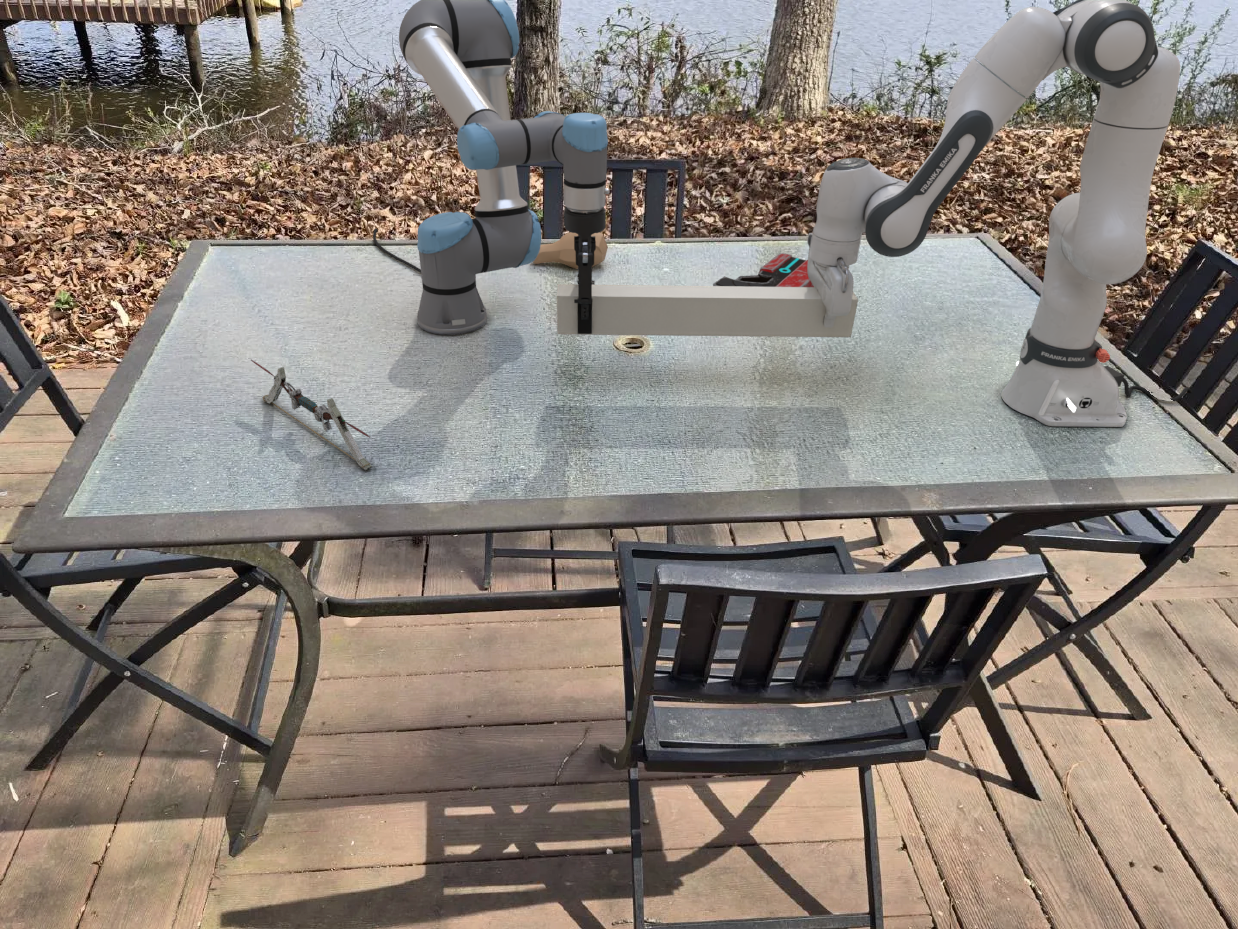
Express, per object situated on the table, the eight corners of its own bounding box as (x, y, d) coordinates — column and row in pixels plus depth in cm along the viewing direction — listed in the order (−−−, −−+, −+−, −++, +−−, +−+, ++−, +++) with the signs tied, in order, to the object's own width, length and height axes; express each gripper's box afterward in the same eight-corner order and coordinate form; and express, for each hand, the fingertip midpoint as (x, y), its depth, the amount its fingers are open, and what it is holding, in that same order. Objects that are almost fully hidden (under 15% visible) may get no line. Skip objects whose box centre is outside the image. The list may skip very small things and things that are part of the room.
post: (557, 334, 167) (556, 295, 163) (558, 321, 172) (557, 283, 168) (851, 337, 170) (858, 299, 165) (844, 324, 174) (850, 287, 170)
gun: (708, 284, 207) (784, 305, 199) (760, 245, 229) (831, 262, 221) (706, 302, 209) (781, 323, 201) (758, 261, 231) (828, 278, 223)
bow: (382, 473, 146) (374, 421, 141) (372, 477, 145) (364, 425, 140) (264, 393, 168) (253, 345, 162) (255, 396, 167) (243, 348, 161)
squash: (609, 272, 224) (605, 241, 218) (532, 279, 226) (525, 248, 219) (610, 251, 232) (605, 220, 226) (535, 258, 233) (529, 227, 227)
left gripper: (607, 224, 149) (605, 347, 162) (604, 191, 164) (602, 305, 177) (563, 224, 149) (564, 347, 162) (564, 190, 164) (565, 305, 177)
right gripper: (866, 270, 154) (853, 341, 162) (838, 231, 171) (827, 297, 179) (831, 269, 154) (819, 341, 161) (806, 231, 171) (796, 297, 178)
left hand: (584, 325), depth 169 cm, fingers closed on post, 6 cm apart
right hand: (823, 318), depth 170 cm, fingers closed on post, 5 cm apart
